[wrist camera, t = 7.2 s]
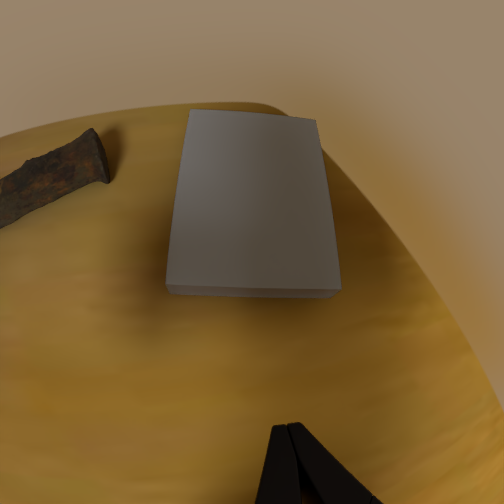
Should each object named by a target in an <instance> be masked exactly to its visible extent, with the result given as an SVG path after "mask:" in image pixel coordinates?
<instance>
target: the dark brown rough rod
mask: <svg viewBox="0 0 504 504" xmlns="http://www.w3.org/2000/svg"><path fill="white" fill-rule="evenodd" d="M96 181H101V182H103V183H106V184H109V183H110V177H109V169H108V164H107V158H106V154H105V149H104V147H103V145H102V143H101V141H100V139H99V137H98V134H97V133H96V132H95V131H94V129H93V128H90V129H88V130H87V131H85V132H84V133H83V134H82V135H81V136H80V137H78V138H76V139H75V140H74V141H72V142H71V143H68V144H66V145H65V146H62V147H60V148H57V149H55V150H54V151H50V152H49V153H47V154H45V155H42V156H40V157H36V158H32V159H30V160H26V161H25V163H24V164H23V165H22V166H21V168H19V169H17V170H15V171H14V172H12V173H11V174H9V175H7V176H5V177H4V178H2V179H1V180H0V228H2V227H4V226H7V225H9V224H11V223H13V222H14V221H15V220H17V219H18V218H20V217H21V216H23V215H25V214H27V213H29V212H31V211H33V210H35V209H37V208H40V207H43V206H44V205H46V204H48V203H50V202H53V201H55V200H57V199H58V198H60V197H61V196H63V195H66V194H69V193H70V192H72V191H74V190H76V189H78V188H80V187H82V186H85V185H87V184H89V183H92V182H96Z"/></svg>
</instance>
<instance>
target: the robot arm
mask: <svg viewBox="0 0 504 504" xmlns="http://www.w3.org/2000/svg"><path fill="white" fill-rule="evenodd" d="M255 504H383V503H382V502H381V501H380V500H379V499H377V498H376V497H375V496H372V493H371V492H370V491H369V490H368V489H366V488H365V487H364V486H363V485H362V484H361V483H360V482H359V481H358V480H357V479H356V478H355V477H354V476H353V475H352V474H351V473H350V472H349V471H348V470H347V469H346V468H345V467H344V466H343V465H342V464H341V463H340V462H339V461H338V460H337V459H336V458H335V457H334V456H333V455H332V454H331V453H330V452H329V451H328V450H327V449H326V448H325V447H324V446H323V445H322V444H321V443H320V442H319V441H318V440H317V439H316V438H315V437H314V436H313V435H312V434H311V433H310V432H309V431H308V430H307V429H306V427H305V426H304V425H303V424H302V423H300V422H295V423H289V424H287V425H285V424H281V425H274V426H273V427H272V429H271V434H270V439H269V443H268V448H267V453H266V457H265V462H264V466H263V470H262V475H261V479H260V483H259V488H258V492H257V496H256V500H255Z"/></svg>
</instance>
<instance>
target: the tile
mask: <svg viewBox="0 0 504 504" xmlns="http://www.w3.org/2000/svg"><path fill="white" fill-rule="evenodd" d="M165 285H166V287H167V289H168V291H169V293H170V294H182V295H204V296H231V297H269V298H331V297H332V296H334V295H335V294H336V293H338V292H339V291H340V290H341V289H342V286H341V277H340V267H339V259H338V251H337V243H336V235H335V228H334V221H333V214H332V207H331V201H330V194H329V188H328V182H327V177H326V171H325V165H324V160H323V155H322V149H321V144H320V139H319V135H318V130H317V126H316V120H312V119H305V118H298V117H290V116H282V115H273V114H263V113H253V112H240V111H224V110H202V109H190V114H189V119H188V124H187V129H186V135H185V140H184V146H183V151H182V157H181V163H180V169H179V175H178V182H177V188H176V195H175V202H174V210H173V217H172V225H171V233H170V242H169V251H168V261H167V271H166V282H165Z"/></svg>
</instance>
